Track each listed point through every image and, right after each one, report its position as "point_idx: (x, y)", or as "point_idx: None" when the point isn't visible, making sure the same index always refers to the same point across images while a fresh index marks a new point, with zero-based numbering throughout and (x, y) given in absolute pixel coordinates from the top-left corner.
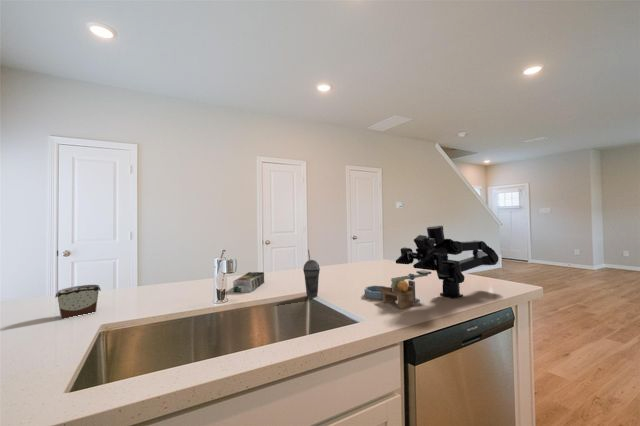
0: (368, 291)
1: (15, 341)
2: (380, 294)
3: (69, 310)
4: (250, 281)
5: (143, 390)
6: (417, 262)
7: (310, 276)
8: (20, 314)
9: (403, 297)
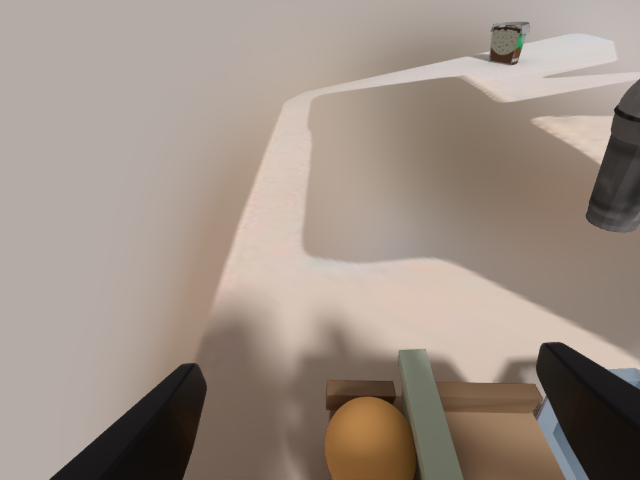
0: None
1: (433, 65)
2: None
3: (495, 52)
4: None
5: (292, 112)
6: (144, 424)
7: (611, 135)
8: None
9: None
